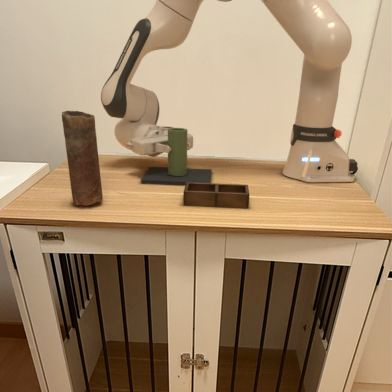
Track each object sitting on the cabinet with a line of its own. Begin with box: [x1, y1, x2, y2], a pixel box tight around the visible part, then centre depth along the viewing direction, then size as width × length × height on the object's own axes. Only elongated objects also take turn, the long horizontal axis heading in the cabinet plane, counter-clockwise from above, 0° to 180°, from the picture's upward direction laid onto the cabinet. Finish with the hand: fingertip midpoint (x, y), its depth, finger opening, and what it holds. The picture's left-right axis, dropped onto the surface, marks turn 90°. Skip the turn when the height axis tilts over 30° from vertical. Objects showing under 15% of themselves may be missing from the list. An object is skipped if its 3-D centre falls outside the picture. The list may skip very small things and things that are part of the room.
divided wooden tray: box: [183, 182, 250, 209], centre depth 106 cm, size 16×9×4 cm, turn 87°
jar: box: [167, 127, 188, 176], centre depth 120 cm, size 6×6×12 cm
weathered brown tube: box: [61, 110, 104, 207], centre depth 97 cm, size 8×7×20 cm
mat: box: [140, 166, 212, 186], centre depth 124 cm, size 20×16×1 cm
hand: (179, 148), depth 119 cm, fingers closed on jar, 5 cm apart
